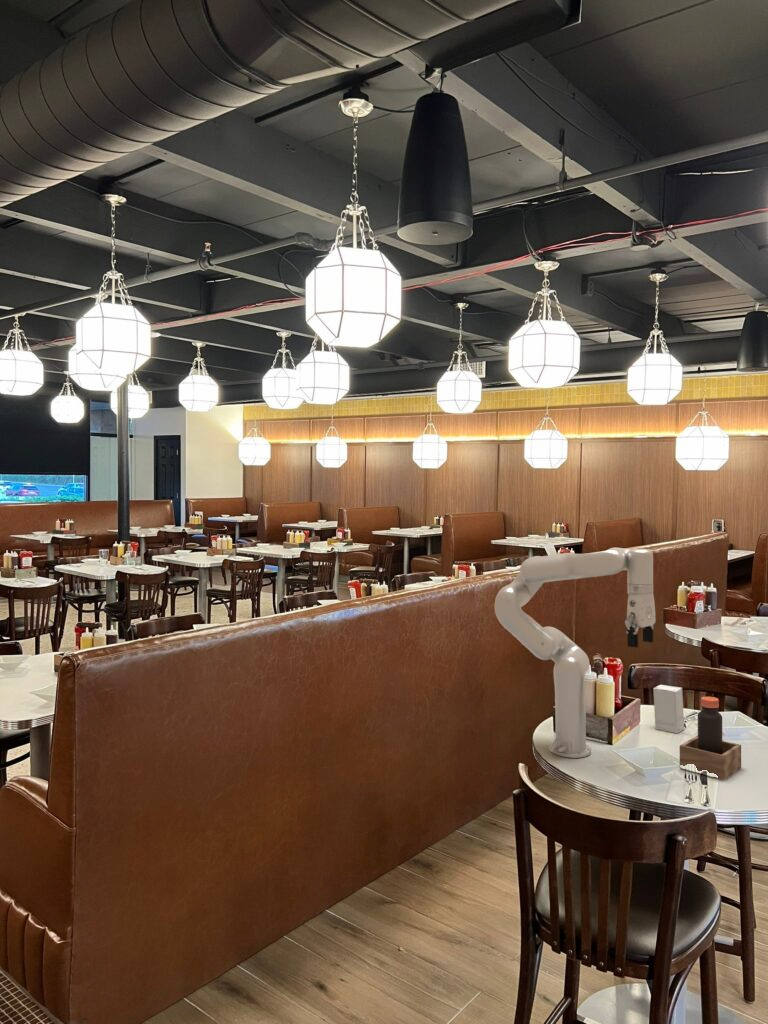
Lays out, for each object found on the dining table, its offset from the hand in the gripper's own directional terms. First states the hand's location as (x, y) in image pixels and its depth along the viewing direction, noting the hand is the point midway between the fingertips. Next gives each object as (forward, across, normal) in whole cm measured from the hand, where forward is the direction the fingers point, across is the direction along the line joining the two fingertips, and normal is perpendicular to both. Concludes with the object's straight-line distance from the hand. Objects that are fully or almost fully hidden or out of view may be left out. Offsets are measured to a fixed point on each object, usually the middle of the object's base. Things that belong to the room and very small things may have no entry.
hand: (640, 644), depth 231 cm
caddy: (+36, +8, -18) cm, 41 cm away
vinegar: (+36, +8, -18) cm, 41 cm away
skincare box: (+36, +34, +7) cm, 50 cm away
